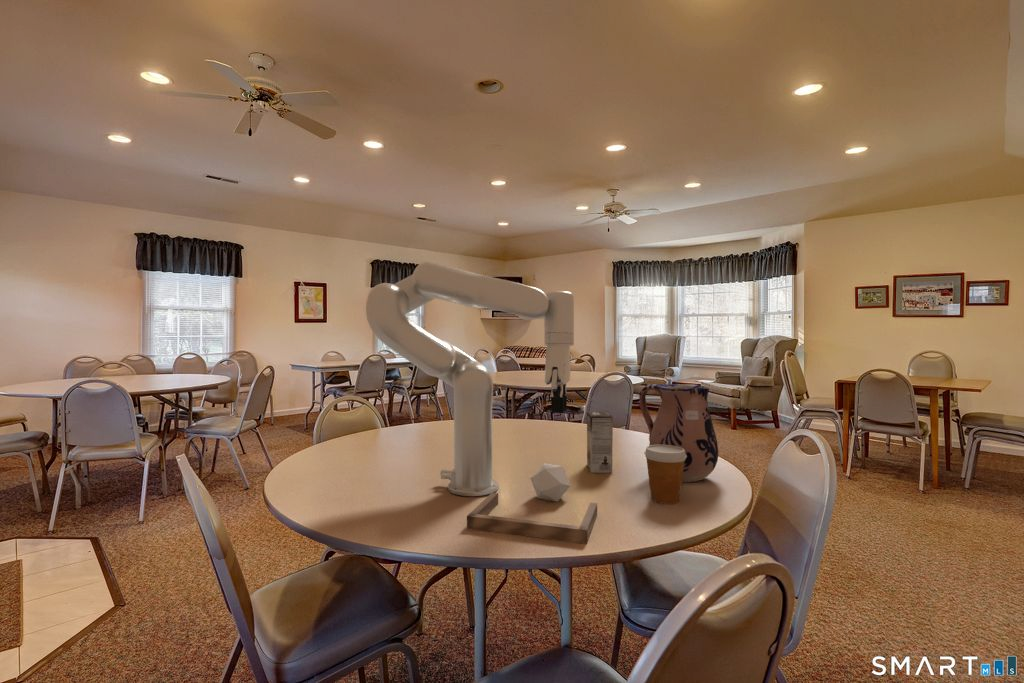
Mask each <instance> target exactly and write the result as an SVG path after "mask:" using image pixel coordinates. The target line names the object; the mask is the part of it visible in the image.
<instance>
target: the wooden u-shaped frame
mask: <svg viewBox="0 0 1024 683" xmlns="http://www.w3.org/2000/svg"><path fill="white" fill-rule="evenodd" d="M498 505H499V493H498V492H493V493H491V494H488V496H487V497H486V498H484V499H483V501H481V502H480V503H479V504H478V505H477V506H476V507H475V508H474V509H473V510H471V512H469V513H468V514H467V515H466V528H467V529H470V530H476V531H487V532H492V533H494V532H495V533H501V534H507V535H508V534H509V535H517V536H524V537H530V538H532V537H533V538H540V539H548V540H554V541H555V540H556V541H562V542H563V541H564V542H571V543H579V544H586V545H587V544H588V542H589V538H590V536H591V533H592V531H593V528H594V526H595V522H596V520H597V517H598V503H597V502H589V505H588V507H587V509H586V511H585V514H584V516H583V519H582V521H581V524H580V525H572V524H564V523H555V522H547V521H538V520H531V519H530V520H529V519H523V518H522V519H521V518H513V517H506V516H505V517H503V516H496V515H489V514H490V513H491V512H492V511H493V510H494V509H495V508H496V507H497V506H498Z"/></svg>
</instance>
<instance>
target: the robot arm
mask: <svg viewBox="0 0 1024 683" xmlns="http://www.w3.org/2000/svg"><path fill="white" fill-rule="evenodd" d="M574 298H575V296H574V294H573V293H572V292H571V291H566V290H565V291H564V290H555V291H549V292H546V293H545V292H544V291H542V290H541V289H540V288H537V287H534V286H531V285H530V286H529V285H525V284H523V283H520V282H515V281H511V280H507V279H502V278H497V277H493V276H490V275H484V274H479V273H476V272H472V271H468V270H465V269H460V268H458V267H453V266H450V265H446V264H441V263H437V262H435V261H423V262H421V263H419V264H418V265H417V266H416V267H415V269H414V271H413V272H412V274H410V275H408V276H407V277H405V278H403V279H401V280H399V281H397V282H396V283H388V282H383V283H378V284H375V285H374V286H373V287H372V288H371V289H370V291H369V292H368V295H367V298H366V302H365V313H366V314H365V315H366V319H367V323H368V325H369V327H370V330H371V331H372V333H373V334H374V336H375V337H376V338H377V339H378V340H379V341H380V342H381V343H382V344H384V345H385V346H387V348H389V349H391V350H392V351H394V352H396V353H397V354H398V355H400V356H401V357H402V358H404V360H407V361H408V362H410V363H411V364H412V365H414V366H415V367H417V368H418V369H419V370H421V371H423V372H424V373H425V374H426V375H428V376H430V377H435V378H437V379H439V380H441V381H442V382H444V383H445V384H446V385H449V386H450V387H451V388H453V424H454V425H453V433H454V434H453V439H454V440H453V443H454V444H453V450H454V451H453V452H454V454H453V455H454V457H453V459H454V460H453V461H454V465H453V466H454V468H453V469H445V468H442V469H440V479H442V480H449V481H450V482H449V483H448V485H447V490H448V492H450V493H451V494H453V495H456V496H461V497H462V496H463V497H481V496H487V495H490V494H491V493H496V491H497V490H499V482H498V481H497V480H495V479H493V401H494V400H493V398H494V380H493V376H492V374H491V372H490V370H489V369H488V368H487V367H486V366H485V365H483V364H482V363H481V362H479V361H478V360H476V359H474V358H473V357H471V356H470V355H468V354H467V353H465V352H464V351H462V350H461V349H459V348H458V347H456V345H453V344H452V343H450V342H449V341H447V340H444V339H441V338H438V337H437V336H435V335H433V334H431V333H430V332H428V331H426V330H425V329H424V328H422V327H421V326H420V325H418V324H417V323H416V322H414V321H412V320H411V319H409V318H408V317H407V316H406V315H407V314H409V313H410V312H412V311H415V310H417V309H418V308H421V307H422V306H425V305H426V304H428V303H429V302H431V301H433V300H434V299H438V300H441V301H446V302H450V303H454V304H458V305H462V306H465V307H468V308H474V309H485V310H486V309H489V310H495V311H500V312H504V313H508V314H512V315H516V316H517V317H518V318H519V319H522V320H524V321H535V320H543V319H544V320H543V321H544V323H543V324H544V325H543V326H544V327H543V328H544V329H543V330H544V333H543V335H544V346H545V347H546V351H545V352H546V353H545V361H544V362H545V363H544V364H545V365H544V383H545V385H550V384H551V386H550V388H551V392H550V393H551V395H550V400H551V401H550V403H551V404H550V411H551V414H553V413H554V414H556V413H557V414H564V413H565V412H566V411H567V408H568V407H567V406H568V404H567V403H568V401H567V399H568V397H567V396H568V395H567V383H569V382H570V380H571V348H570V347H571V346H575V344H574V343H575V338H574V337H575V299H574Z"/></svg>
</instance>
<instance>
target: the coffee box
mask: <svg viewBox="0 0 1024 683" xmlns="http://www.w3.org/2000/svg"><path fill="white" fill-rule="evenodd" d="M613 417H614V416H613V415H612V414H611V413H610V412H609V411H608V410H600V411H599V410H587V411H586V453H587V454H586V465H587V466H588V469H589V472H590V473H592V474H593V473H596V474H597V473H598V474H599V473H601V474H603V473H604V474H605V473H606V474H610V473H611V474H612V473H613V440H614V439H613V438H614V437H613V434H614V432H613V428H614V427H613V426H614V424H613V421H614V418H613Z"/></svg>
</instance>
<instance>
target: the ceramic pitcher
mask: <svg viewBox="0 0 1024 683" xmlns="http://www.w3.org/2000/svg"><path fill="white" fill-rule="evenodd" d="M649 391H655V392H656V393H658V396H659V397H660V399H661V402H660V405H659V408H658V410H657V414H656V417H655V419H654V421H653V419H652V417H651V414H650V411H649V409H648V407H647V401H646V400H647V397H646V396H647V394H648V392H649ZM709 392H710V388H709V387H706V386H704V385H703V386H699V384H694V383H688V384H685V383H683V384H682V383H681V384H680V383H667V384H666V383H665V384H661V383H660V384H659V383H658V384H657V383H654V384H651V383H649V384H647V385H645V386H644V387H643V388H642V389H641V390H640V391H639V394H638V395H639V397H638V398H639V401H638V403H639V406H640V411H641V414H642V416H643V420H644V422H645V424H646V427H647V429H648V432H649V435H648V442H649V445H648V446H650V445H672V446H677V447H681V448H683V449H684V450H685V454H686V455H687V457H686V460H685V461H684V469H683V476H682V483H688V482H690V483H692V482H693V483H694V482H698V481H702V480H704V479H705V478H707V477H708V476H710V474H712V473H713V471H714V470H715V468H716V466H717V463H718V460H719V445H718V439H717V435H716V431H715V426H714V423H713V419H712V417H711V413H710V409H709V402H708V397H709Z"/></svg>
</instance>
